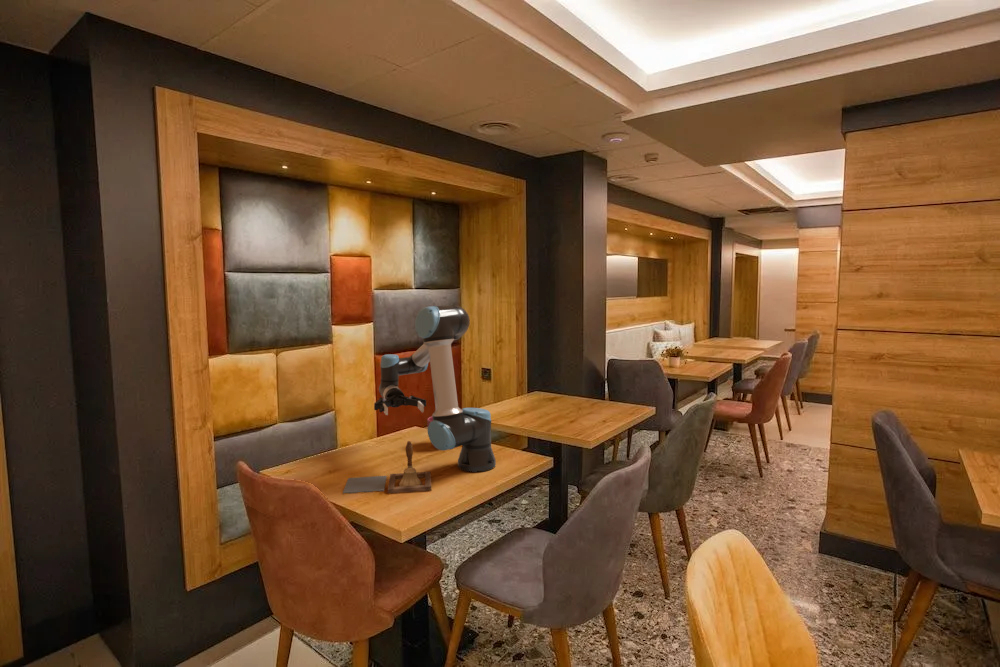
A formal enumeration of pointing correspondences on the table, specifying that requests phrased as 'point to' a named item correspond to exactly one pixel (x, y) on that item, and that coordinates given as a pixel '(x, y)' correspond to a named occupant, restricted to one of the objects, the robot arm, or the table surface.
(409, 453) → the hand bell
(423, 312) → the robot arm
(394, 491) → the square frame
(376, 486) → the rubber mat
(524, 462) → the table surface
